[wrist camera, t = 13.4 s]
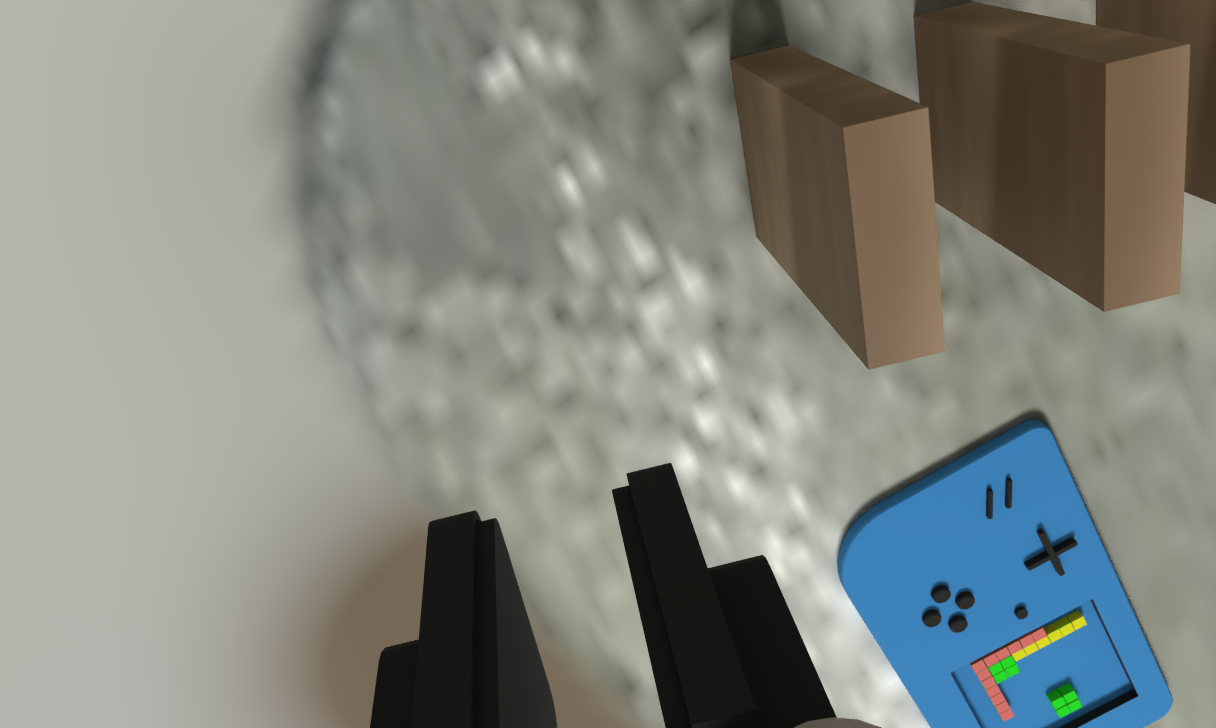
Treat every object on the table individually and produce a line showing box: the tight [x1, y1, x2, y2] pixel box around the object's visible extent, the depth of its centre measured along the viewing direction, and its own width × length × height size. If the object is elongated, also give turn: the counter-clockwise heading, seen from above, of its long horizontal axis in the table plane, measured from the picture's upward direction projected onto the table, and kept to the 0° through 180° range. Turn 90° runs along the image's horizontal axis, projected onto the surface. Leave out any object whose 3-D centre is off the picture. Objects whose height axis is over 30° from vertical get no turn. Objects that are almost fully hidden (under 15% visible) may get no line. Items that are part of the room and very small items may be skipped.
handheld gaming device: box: [838, 420, 1173, 728], centre depth 35 cm, size 8×1×15 cm
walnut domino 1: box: [730, 46, 945, 369], centre depth 23 cm, size 2×5×9 cm, turn 11°
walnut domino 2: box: [914, 2, 1190, 312], centre depth 23 cm, size 2×5×9 cm, turn 12°
